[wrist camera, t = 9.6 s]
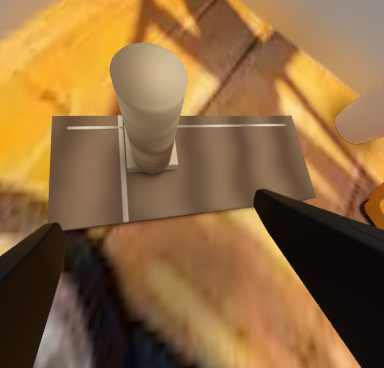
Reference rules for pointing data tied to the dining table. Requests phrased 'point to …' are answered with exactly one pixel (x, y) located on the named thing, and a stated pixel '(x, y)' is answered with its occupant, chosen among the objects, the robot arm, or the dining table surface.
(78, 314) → the dining table surface
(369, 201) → the bracket
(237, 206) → the walnut board
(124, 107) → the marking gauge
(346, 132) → the foam cup
